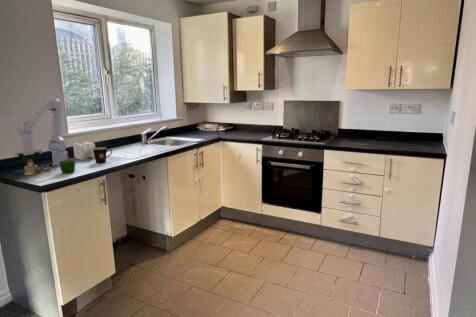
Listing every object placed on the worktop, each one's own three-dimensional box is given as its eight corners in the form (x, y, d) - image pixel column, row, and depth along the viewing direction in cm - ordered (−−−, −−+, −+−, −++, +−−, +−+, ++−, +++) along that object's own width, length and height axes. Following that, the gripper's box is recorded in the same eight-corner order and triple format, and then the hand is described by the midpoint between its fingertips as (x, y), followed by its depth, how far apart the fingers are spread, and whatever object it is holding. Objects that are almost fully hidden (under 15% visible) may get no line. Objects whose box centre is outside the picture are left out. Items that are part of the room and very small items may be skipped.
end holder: (37, 169, 204) (37, 164, 203) (37, 171, 198) (36, 167, 198) (25, 170, 201) (25, 166, 200) (25, 173, 195) (24, 168, 195)
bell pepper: (69, 175, 192) (67, 159, 190) (57, 174, 194) (55, 158, 192) (79, 172, 200) (77, 156, 198) (68, 171, 202) (66, 155, 200)
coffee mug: (92, 164, 220) (91, 149, 218) (96, 161, 229) (94, 147, 227) (110, 163, 222) (109, 149, 220) (113, 160, 231) (112, 147, 228)
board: (51, 167, 210) (51, 166, 210) (51, 173, 197) (51, 172, 197) (26, 170, 204) (26, 169, 204) (24, 176, 191) (24, 175, 191)
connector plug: (34, 170, 202) (33, 159, 201) (34, 171, 199) (32, 159, 198) (28, 171, 200) (26, 159, 199) (28, 171, 197) (26, 160, 196)
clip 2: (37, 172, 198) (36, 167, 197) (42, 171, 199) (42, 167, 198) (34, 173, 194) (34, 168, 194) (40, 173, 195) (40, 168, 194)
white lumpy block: (73, 158, 239) (71, 142, 236) (87, 155, 247) (86, 141, 244) (83, 161, 229) (81, 145, 227) (97, 158, 237) (95, 143, 235)
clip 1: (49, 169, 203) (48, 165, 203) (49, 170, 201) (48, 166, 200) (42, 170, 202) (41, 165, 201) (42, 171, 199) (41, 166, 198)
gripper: (12, 145, 189) (15, 168, 192) (41, 143, 196) (44, 165, 199) (13, 143, 195) (17, 165, 198) (41, 141, 202) (44, 162, 205)
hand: (30, 165), depth 199 cm, fingers open, 6 cm apart
